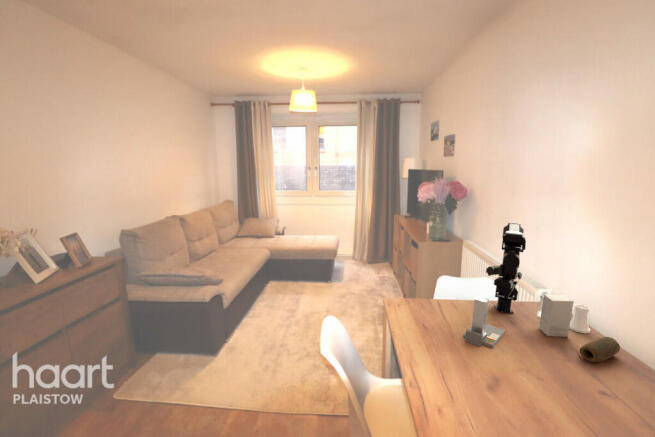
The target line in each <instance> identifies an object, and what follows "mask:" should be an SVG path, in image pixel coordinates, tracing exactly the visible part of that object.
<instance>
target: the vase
mask: <svg viewBox="0 0 655 437" xmlns="http://www.w3.org/2000/svg"><path fill="white" fill-rule="evenodd" d="M589 311H590V307H589V306H587V305H584V304H580V303H578V304H574V313H573V315H572V317H571V320H570V327H569V330H571V331H573V332H577V333H579V334H580V333H581V334H590V332H591V328H590V327H589V322H588V321H589V320H588V315H589Z"/></svg>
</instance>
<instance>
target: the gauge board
mask: <svg viewBox="0 0 655 437" xmlns="http://www.w3.org/2000/svg"><path fill="white" fill-rule="evenodd" d="M471 328H472V325H471V326H470V327H469V328H468V329H466V330H465V332H464V333H463V334H462V335H463V336H462V338H464V342H465V343H469V344H471V345H474V346H477V347H479V348H481V347H482V345H483V346H486V347H489V348H491V349H494V348H495V346H496V345H497V344H498V343H499V341H500V340H501V339H502V337H503V336H504V335H505V334H506V329H503V328H499V327H496V326H493V325H492V324H491V325H490V324H487V323H486V330H485V332H486V333H487V336H488V337H491V338H493V339H495V341H492V340H490V339H487V336H486V337H485V338H484V339H483V341H482V337H483V334H480V333H477V332H474V331H471Z"/></svg>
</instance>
